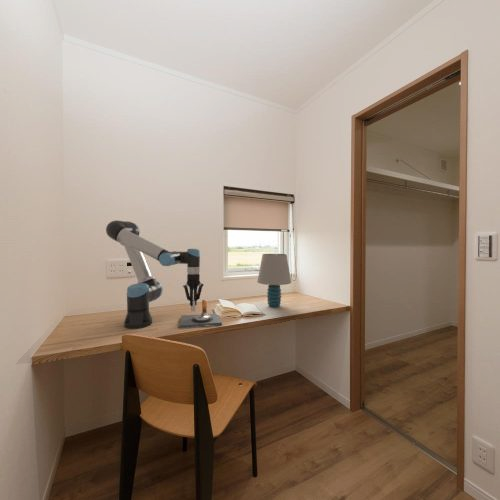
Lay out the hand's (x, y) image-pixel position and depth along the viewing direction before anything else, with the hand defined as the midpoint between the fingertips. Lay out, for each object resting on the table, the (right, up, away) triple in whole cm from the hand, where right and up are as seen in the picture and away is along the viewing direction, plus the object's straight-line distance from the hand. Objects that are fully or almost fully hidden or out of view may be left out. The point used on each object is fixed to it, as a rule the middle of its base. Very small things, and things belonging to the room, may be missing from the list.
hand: (193, 310), depth 157 cm
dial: (+7, -4, -2) cm, 8 cm away
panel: (+5, -6, -4) cm, 9 cm away
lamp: (+54, -4, +32) cm, 63 cm away
